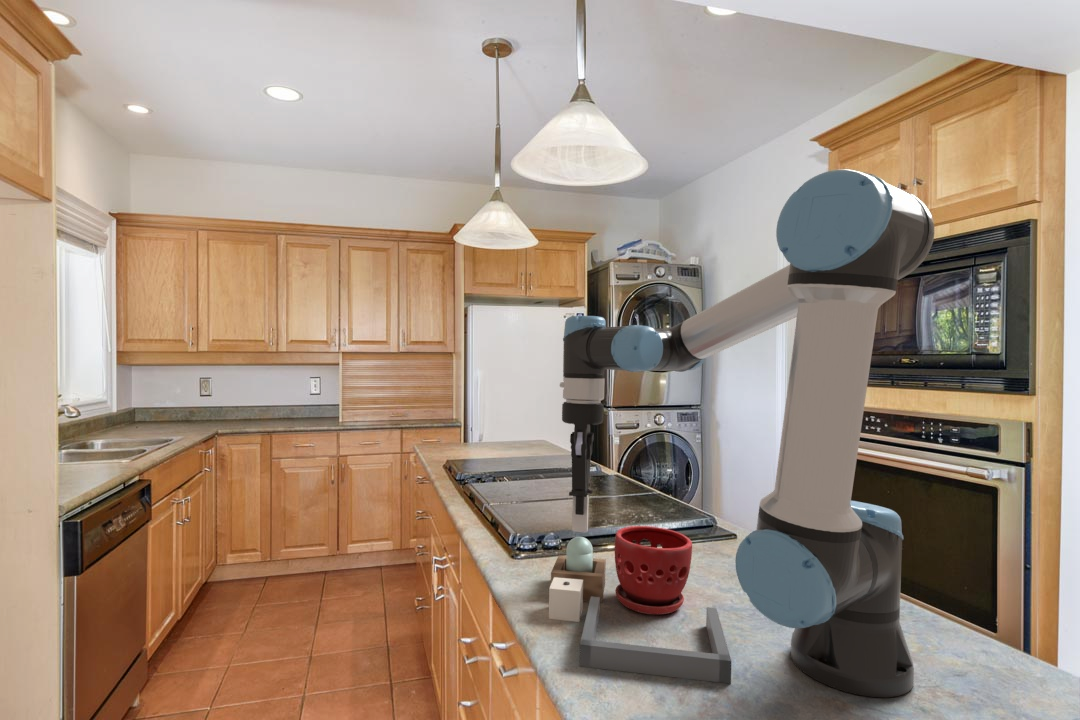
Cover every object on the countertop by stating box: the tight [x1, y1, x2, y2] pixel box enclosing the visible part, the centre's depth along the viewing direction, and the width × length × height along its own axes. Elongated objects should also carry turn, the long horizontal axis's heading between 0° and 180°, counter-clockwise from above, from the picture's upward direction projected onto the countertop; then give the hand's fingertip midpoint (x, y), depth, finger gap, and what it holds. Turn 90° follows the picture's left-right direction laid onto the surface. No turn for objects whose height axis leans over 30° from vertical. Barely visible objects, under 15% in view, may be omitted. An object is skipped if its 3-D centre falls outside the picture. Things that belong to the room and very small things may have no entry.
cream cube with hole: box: [548, 577, 584, 623], centre depth 97 cm, size 5×5×5 cm
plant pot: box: [614, 525, 693, 615], centre depth 101 cm, size 13×13×12 cm
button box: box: [550, 555, 607, 604], centre depth 106 cm, size 9×9×4 cm
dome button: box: [565, 536, 594, 573], centre depth 106 cm, size 5×5×7 cm
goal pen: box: [578, 596, 732, 685], centre depth 86 cm, size 20×16×3 cm
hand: (579, 530), depth 106 cm, fingers closed
